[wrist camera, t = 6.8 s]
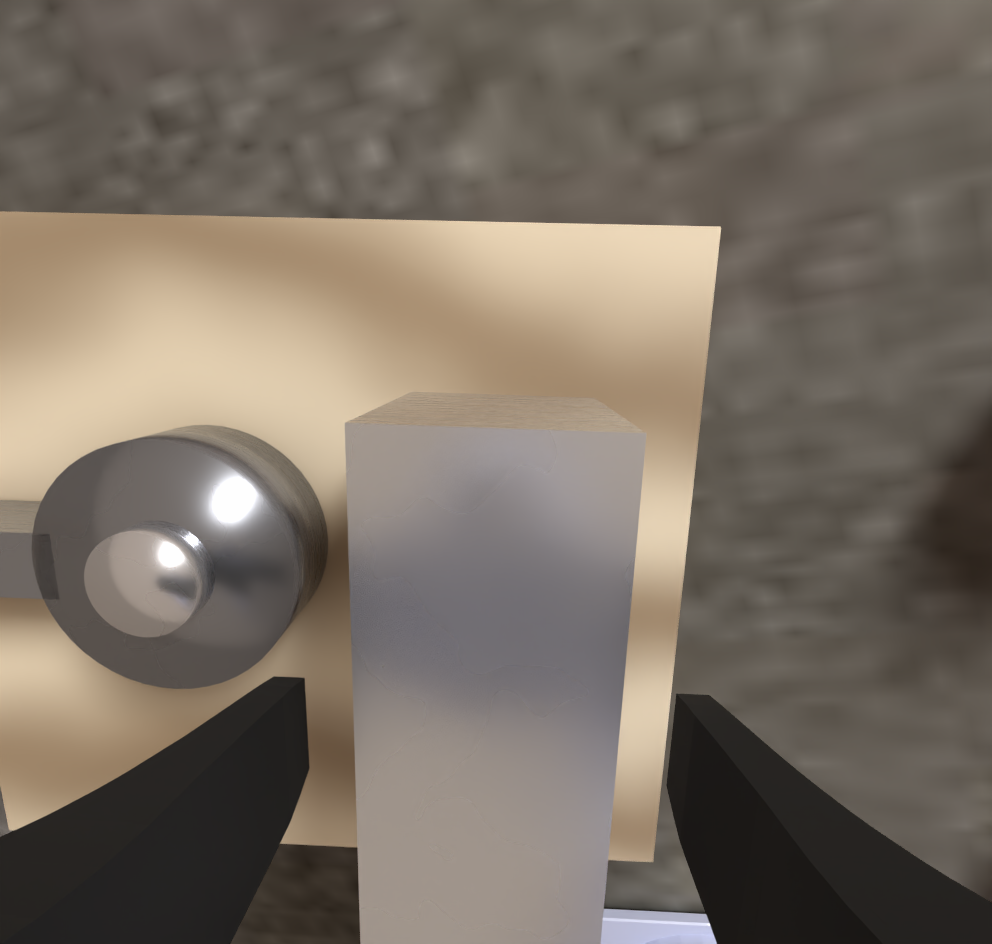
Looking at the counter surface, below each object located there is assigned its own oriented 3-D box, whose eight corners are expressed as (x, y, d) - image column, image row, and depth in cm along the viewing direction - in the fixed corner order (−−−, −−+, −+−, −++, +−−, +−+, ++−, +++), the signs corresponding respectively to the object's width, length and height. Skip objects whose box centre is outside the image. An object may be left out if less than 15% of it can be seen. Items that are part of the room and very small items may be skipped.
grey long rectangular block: (563, 851, 15) (586, 1097, 10) (413, 843, 15) (364, 1082, 10) (594, 397, 12) (646, 433, 7) (411, 391, 12) (345, 423, 8)
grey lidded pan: (324, 427, 14) (270, 451, 11) (333, 641, 16) (287, 715, 13) (-80, 415, 15) (-243, 435, 12) (-37, 626, 16) (-173, 696, 13)
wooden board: (644, 828, 18) (668, 921, 15) (40, 799, 19) (-47, 884, 16) (704, 236, 14) (752, 208, 11) (-66, 219, 15) (-208, 189, 12)
